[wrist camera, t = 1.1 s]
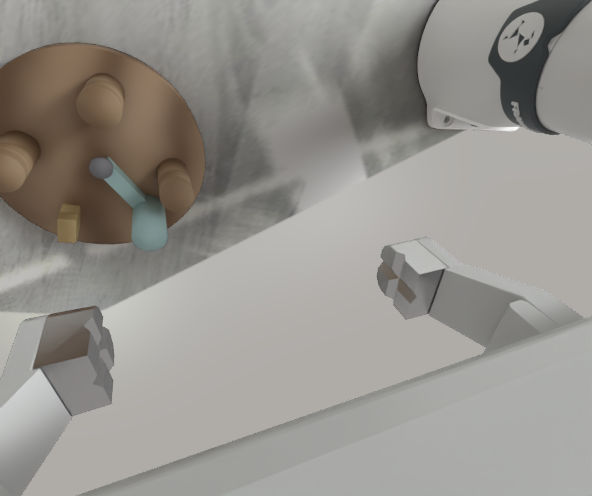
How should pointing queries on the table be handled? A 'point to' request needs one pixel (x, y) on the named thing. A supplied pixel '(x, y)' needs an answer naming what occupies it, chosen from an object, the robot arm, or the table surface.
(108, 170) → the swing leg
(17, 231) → the table surface
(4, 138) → the stool seat
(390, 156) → the table surface
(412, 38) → the table surface
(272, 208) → the table surface
